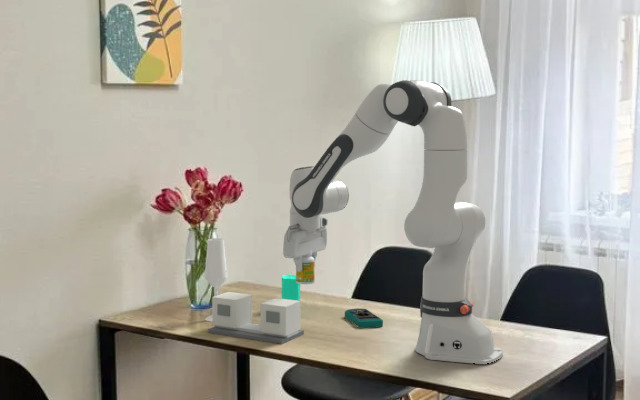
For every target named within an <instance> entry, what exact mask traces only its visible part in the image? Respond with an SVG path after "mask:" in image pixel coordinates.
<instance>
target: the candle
mask: <svg viewBox="0 0 640 400" xmlns="http://www.w3.org/2000/svg"><path fill="white" fill-rule="evenodd" d="M281 299H288V300H296V301H300V302H301V284H298V283H296V274H295V275H294V274H291V273H289V274H283V275H281Z"/></svg>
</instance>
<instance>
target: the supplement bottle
mask: <svg viewBox="0 0 640 400" xmlns="http://www.w3.org/2000/svg"><path fill="white" fill-rule="evenodd" d="M311 255H312V250H311V251H310V253H309V254H308V255H304V256H302V260H301V262H302V265H304V270H303V271H301V272H298V271H296V270H295V276H296V283H298V284H300V285H313V284H314V283H315V277H316V276H315V267H314V258H313V257H311Z"/></svg>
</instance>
